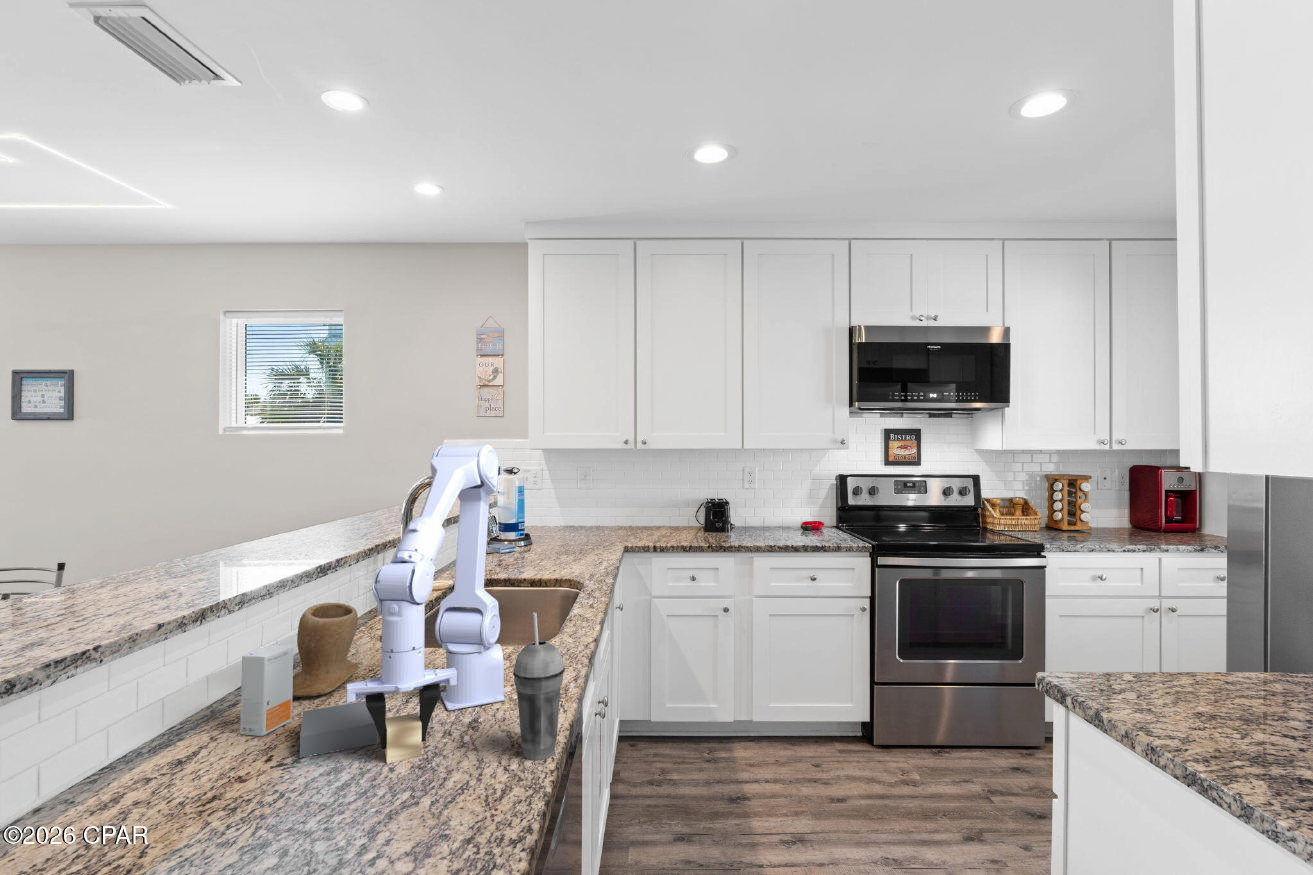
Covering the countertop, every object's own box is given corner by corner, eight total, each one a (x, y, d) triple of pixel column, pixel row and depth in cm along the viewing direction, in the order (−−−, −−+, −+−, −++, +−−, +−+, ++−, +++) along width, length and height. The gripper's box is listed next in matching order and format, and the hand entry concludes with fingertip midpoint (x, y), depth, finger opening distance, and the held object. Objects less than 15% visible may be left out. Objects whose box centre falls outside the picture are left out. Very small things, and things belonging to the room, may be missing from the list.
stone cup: (338, 702, 110) (338, 614, 110) (268, 702, 109) (269, 615, 110) (376, 671, 125) (376, 595, 125) (315, 672, 125) (315, 595, 125)
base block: (373, 718, 102) (373, 699, 102) (377, 743, 93) (377, 722, 94) (302, 730, 98) (303, 711, 98) (299, 758, 89) (300, 736, 89)
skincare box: (263, 737, 96) (264, 657, 96) (239, 735, 97) (240, 655, 97) (293, 720, 102) (294, 645, 102) (271, 718, 103) (271, 644, 103)
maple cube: (417, 743, 93) (417, 712, 94) (421, 756, 89) (421, 723, 90) (384, 750, 91) (384, 718, 92) (386, 763, 87) (387, 730, 88)
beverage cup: (573, 745, 92) (573, 606, 93) (549, 768, 86) (549, 619, 86) (529, 738, 95) (529, 603, 95) (502, 760, 88) (502, 615, 89)
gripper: (347, 662, 84) (346, 766, 84) (460, 646, 91) (460, 743, 90) (346, 648, 90) (345, 744, 90) (452, 634, 97) (452, 724, 96)
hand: (402, 742), depth 90 cm, fingers closed on maple cube, 4 cm apart
